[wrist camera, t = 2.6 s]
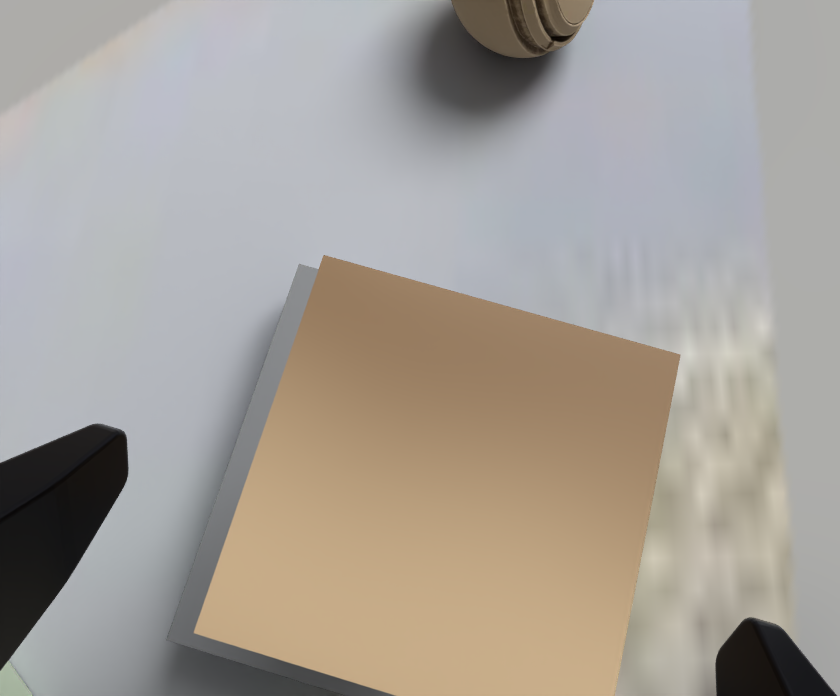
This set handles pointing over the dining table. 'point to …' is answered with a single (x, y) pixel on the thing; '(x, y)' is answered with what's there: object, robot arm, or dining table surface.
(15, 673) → the sage mat
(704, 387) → the dining table surface
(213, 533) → the grey block
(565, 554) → the oak block
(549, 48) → the door knob
